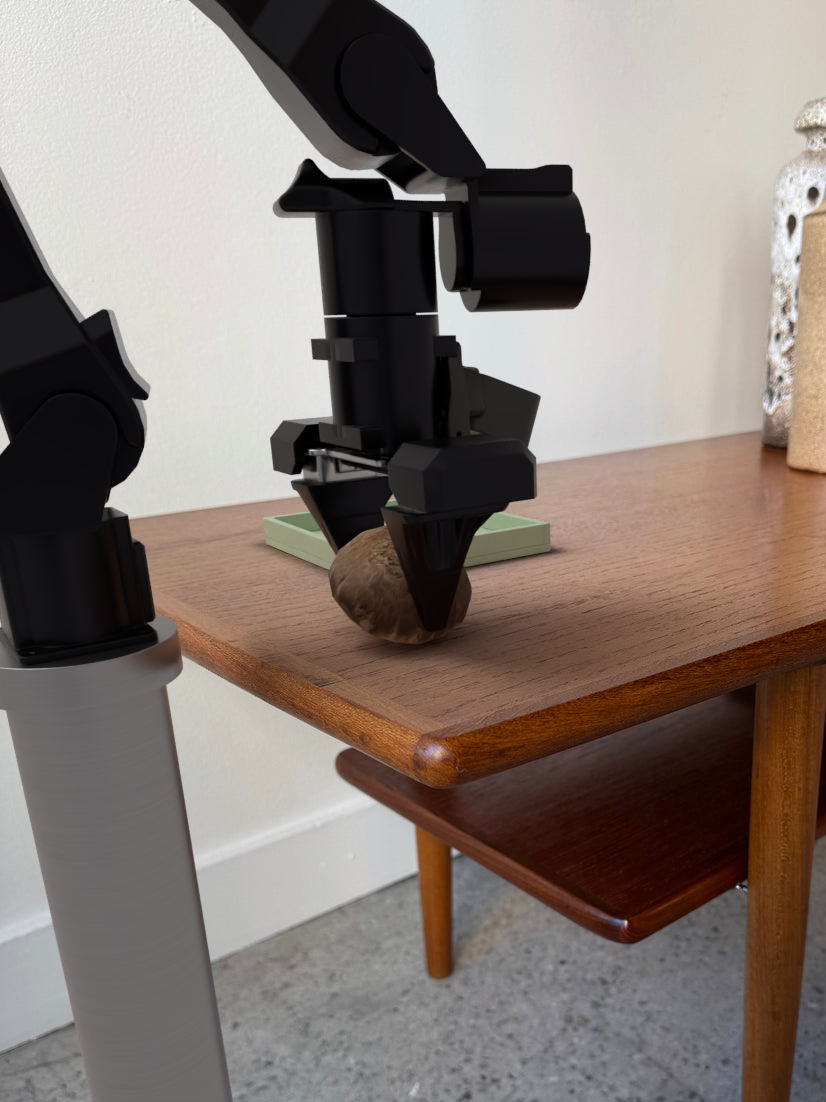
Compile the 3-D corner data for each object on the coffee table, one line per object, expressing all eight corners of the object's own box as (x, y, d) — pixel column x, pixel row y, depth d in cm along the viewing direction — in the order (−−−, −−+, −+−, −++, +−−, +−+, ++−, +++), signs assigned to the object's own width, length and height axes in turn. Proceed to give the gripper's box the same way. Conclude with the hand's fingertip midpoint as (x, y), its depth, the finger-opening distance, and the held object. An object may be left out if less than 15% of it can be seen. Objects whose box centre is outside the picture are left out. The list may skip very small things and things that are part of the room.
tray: (365, 585, 69) (363, 554, 68) (265, 544, 82) (262, 517, 81) (551, 551, 77) (550, 522, 76) (432, 518, 90) (431, 494, 89)
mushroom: (313, 562, 61) (349, 481, 56) (440, 599, 64) (482, 525, 60) (306, 662, 55) (344, 580, 51) (444, 697, 58) (491, 622, 54)
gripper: (625, 309, 49) (622, 626, 55) (427, 313, 64) (440, 563, 69) (420, 316, 43) (440, 670, 49) (252, 318, 58) (283, 591, 63)
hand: (402, 615), depth 58 cm, fingers closed on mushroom, 7 cm apart
